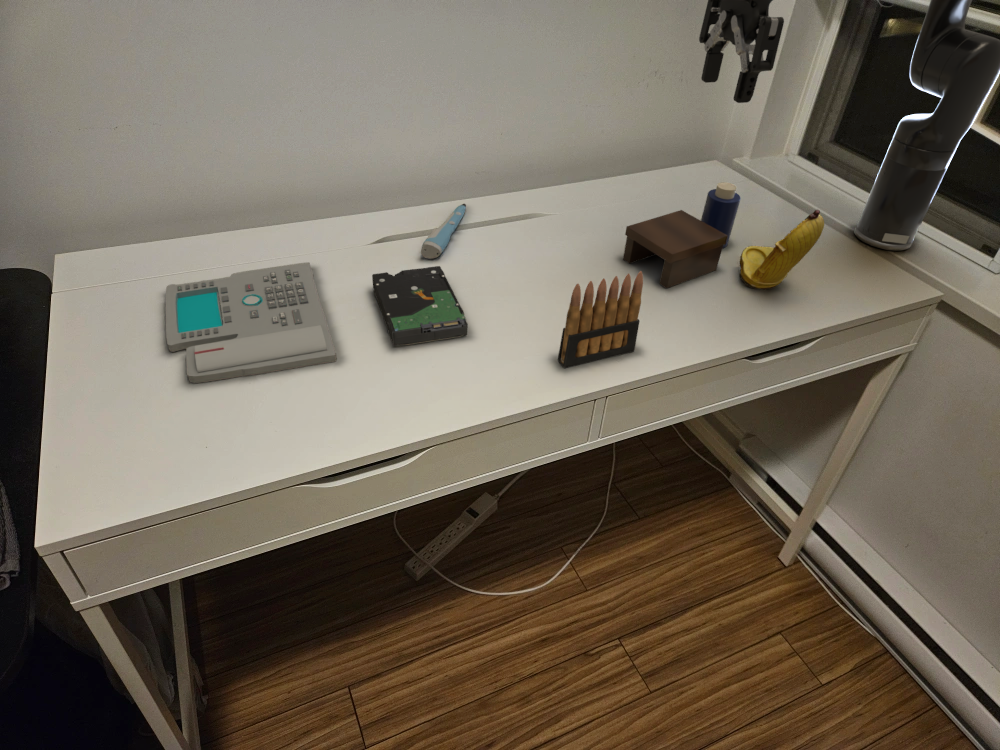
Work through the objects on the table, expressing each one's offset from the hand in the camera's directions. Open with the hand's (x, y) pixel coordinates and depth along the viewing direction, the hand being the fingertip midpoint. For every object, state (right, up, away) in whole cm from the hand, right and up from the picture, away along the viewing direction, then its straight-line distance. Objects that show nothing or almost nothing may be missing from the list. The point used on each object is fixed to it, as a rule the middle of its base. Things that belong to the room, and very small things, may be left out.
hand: (724, 91), depth 93 cm
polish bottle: (+6, -15, +25) cm, 30 cm away
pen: (-39, -15, +22) cm, 47 cm away
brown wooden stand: (-3, -20, +18) cm, 27 cm away
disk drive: (-42, -29, +4) cm, 51 cm away
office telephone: (-64, -31, 0) cm, 71 cm away
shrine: (+11, -24, +14) cm, 30 cm away
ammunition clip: (-17, -36, -1) cm, 40 cm away
